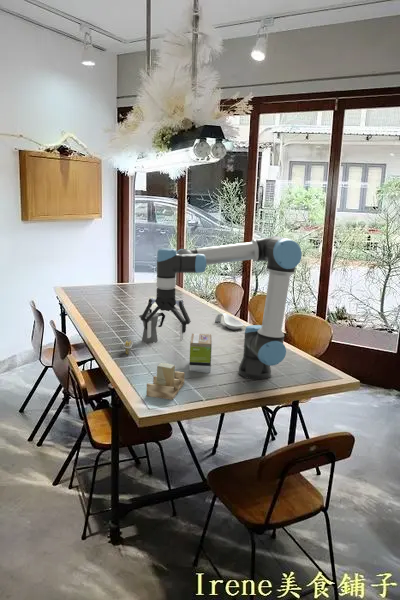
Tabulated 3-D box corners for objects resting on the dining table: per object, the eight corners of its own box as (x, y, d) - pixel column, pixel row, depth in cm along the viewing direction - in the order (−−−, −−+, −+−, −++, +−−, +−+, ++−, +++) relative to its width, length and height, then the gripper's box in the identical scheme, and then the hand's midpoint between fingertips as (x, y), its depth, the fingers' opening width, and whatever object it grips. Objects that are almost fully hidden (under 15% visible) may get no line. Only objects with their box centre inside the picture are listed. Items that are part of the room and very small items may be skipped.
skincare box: (155, 393, 190) (156, 365, 187) (159, 390, 194) (160, 362, 191) (170, 396, 188) (171, 368, 185) (174, 392, 192) (175, 364, 189)
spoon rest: (247, 330, 292) (247, 319, 290) (232, 332, 285) (232, 321, 284) (224, 320, 311) (225, 310, 309) (209, 322, 304) (210, 312, 303)
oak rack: (184, 385, 202) (184, 372, 201) (172, 402, 186) (173, 387, 184) (159, 382, 204) (160, 369, 203) (146, 398, 188) (146, 384, 187)
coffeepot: (141, 344, 254) (142, 312, 250) (135, 339, 262) (136, 308, 258) (167, 341, 261) (168, 310, 257) (161, 336, 269) (162, 306, 265)
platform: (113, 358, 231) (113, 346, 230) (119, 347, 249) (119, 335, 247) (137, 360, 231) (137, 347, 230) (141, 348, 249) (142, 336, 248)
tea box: (190, 361, 232) (191, 332, 229) (210, 362, 232) (212, 333, 229) (188, 372, 217) (190, 342, 214) (210, 373, 217) (212, 343, 214)
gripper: (198, 288, 188) (197, 338, 193) (139, 283, 193) (138, 333, 197) (194, 291, 181) (193, 344, 185) (133, 287, 185) (133, 338, 190)
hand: (165, 338), depth 191 cm, fingers open, 13 cm apart
